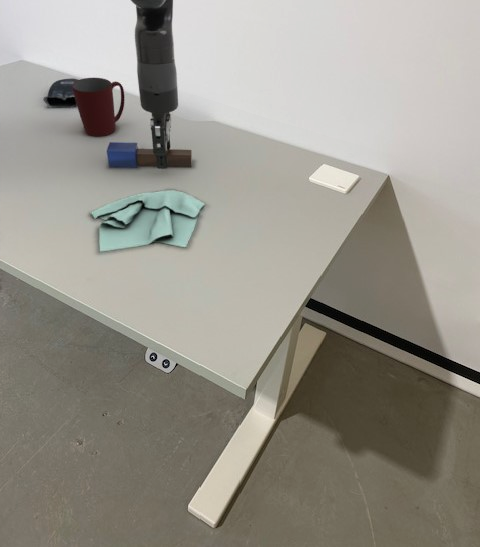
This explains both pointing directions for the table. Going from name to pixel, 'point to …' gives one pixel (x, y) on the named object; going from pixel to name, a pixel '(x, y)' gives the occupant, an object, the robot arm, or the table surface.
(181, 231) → the cloth
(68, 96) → the electronic device
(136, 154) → the brush
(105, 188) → the table surface
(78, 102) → the mug
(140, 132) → the table surface
